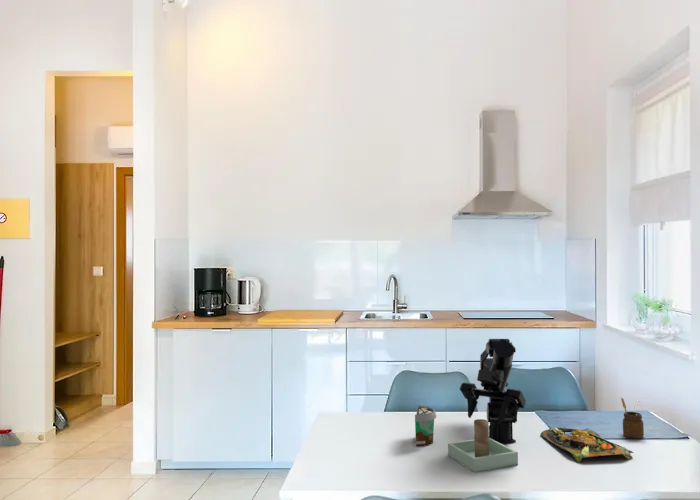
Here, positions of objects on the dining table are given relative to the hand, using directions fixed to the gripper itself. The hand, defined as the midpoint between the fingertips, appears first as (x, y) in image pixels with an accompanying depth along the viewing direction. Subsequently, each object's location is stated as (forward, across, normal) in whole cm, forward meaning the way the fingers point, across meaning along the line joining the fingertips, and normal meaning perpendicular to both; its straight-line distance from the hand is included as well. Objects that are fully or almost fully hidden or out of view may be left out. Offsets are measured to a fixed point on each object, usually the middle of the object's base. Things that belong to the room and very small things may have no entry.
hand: (483, 419), depth 159 cm
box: (+9, 0, +6) cm, 11 cm away
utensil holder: (-25, +29, +40) cm, 55 cm away
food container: (+6, -20, +9) cm, 23 cm away
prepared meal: (-11, +19, +27) cm, 35 cm away
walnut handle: (+9, 0, +6) cm, 11 cm away
